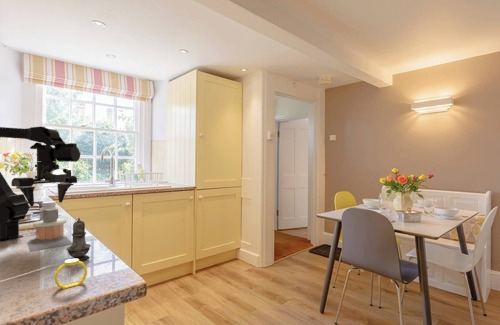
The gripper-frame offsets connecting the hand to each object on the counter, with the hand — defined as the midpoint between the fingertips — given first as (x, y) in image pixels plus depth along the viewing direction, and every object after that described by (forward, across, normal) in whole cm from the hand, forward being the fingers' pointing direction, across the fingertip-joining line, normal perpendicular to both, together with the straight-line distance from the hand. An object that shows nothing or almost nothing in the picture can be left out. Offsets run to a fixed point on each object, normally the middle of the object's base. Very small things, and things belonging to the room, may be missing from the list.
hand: (46, 204), depth 96 cm
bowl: (+12, +1, 0) cm, 13 cm away
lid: (+8, +1, 0) cm, 8 cm away
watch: (+13, -19, -46) cm, 51 cm away
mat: (+12, -4, -10) cm, 16 cm away
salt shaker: (+13, -8, -31) cm, 35 cm away
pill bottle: (+13, +9, +15) cm, 22 cm away
